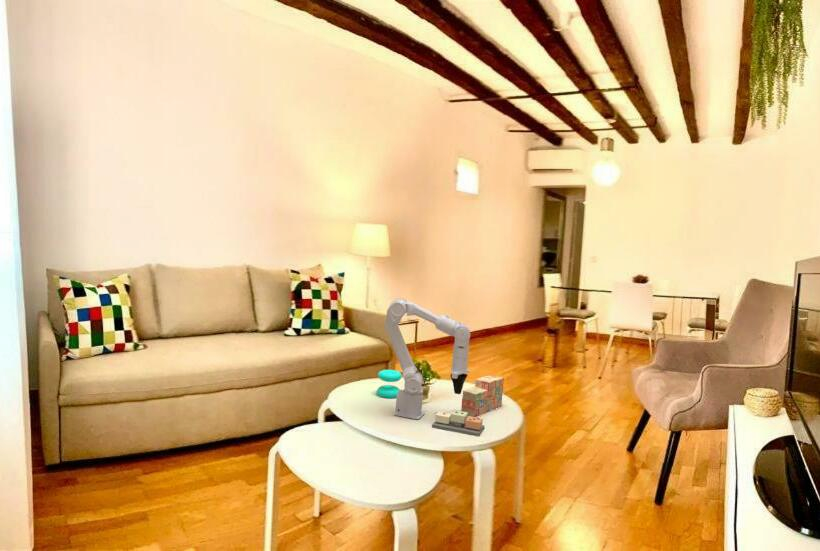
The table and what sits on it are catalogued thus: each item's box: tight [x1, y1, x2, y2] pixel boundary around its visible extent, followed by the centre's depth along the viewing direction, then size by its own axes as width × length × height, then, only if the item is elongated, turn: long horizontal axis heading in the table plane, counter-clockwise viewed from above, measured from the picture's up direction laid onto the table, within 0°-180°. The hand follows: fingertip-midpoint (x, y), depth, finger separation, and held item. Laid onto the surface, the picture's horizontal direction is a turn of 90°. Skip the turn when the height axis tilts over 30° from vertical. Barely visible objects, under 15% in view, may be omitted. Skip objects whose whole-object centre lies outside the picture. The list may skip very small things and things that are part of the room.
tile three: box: [465, 416, 483, 430], centre depth 180 cm, size 5×5×3 cm
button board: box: [431, 421, 485, 437], centre depth 182 cm, size 17×9×3 cm, turn 70°
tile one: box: [434, 410, 452, 424], centre depth 183 cm, size 5×5×3 cm
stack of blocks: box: [460, 374, 505, 418], centre depth 204 cm, size 21×6×12 cm, turn 141°
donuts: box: [376, 369, 403, 399], centre depth 215 cm, size 10×10×10 cm
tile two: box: [450, 409, 469, 423], centre depth 181 cm, size 5×5×3 cm
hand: (457, 393), depth 190 cm, fingers closed
